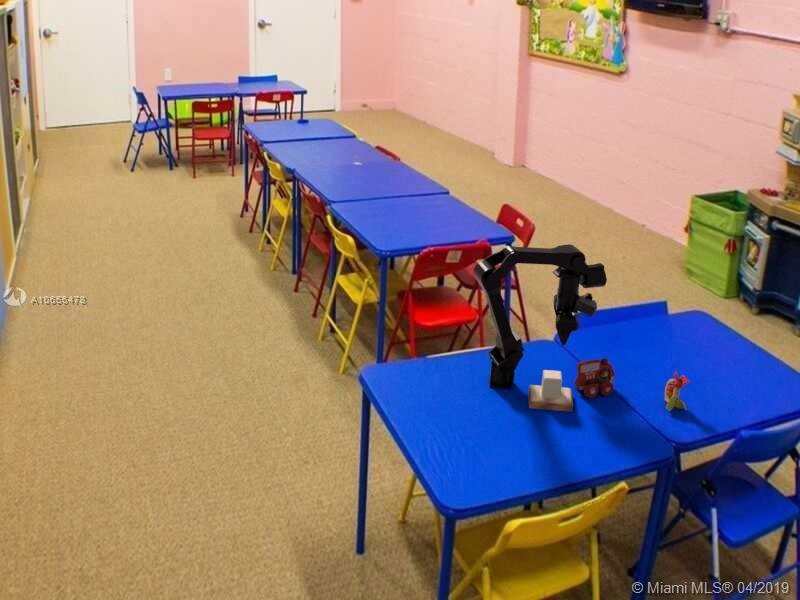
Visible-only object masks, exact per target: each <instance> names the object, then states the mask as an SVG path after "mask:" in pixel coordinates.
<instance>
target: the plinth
mask: <svg viewBox="0 0 800 600" xmlns="http://www.w3.org/2000/svg"><path fill="white" fill-rule="evenodd" d="M541 386H542V385H536V384H530V385H528V389H527V390H528V391H527V392H528V409H534V410H535V409H536V410H549V411H559V412H562V411H563V412H572V413H573V411H574V410H573V409H574V403H573V393H572V389H571V388H570V387H564V386H562V387H561V395H560V399H552V398H542V392H541Z"/></svg>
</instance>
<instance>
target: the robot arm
mask: <svg viewBox="0 0 800 600" xmlns="http://www.w3.org/2000/svg"><path fill="white" fill-rule="evenodd" d="M499 264H500V265H499ZM518 264H524V265H525V264H526V265H527V264H529V265H545V266H546V265H547V266H548V265H549V266H556V267H557V268H556V269H554V270H553V271H552V273H553V275H555V276H556V277H557V278H558V287H557V288H556V289H557V290H556V291H557V292H556V294H554V296H553V300H552V301H553V309H554V312H555V313H554V314H555V324H554V326H555V330H556V332H557V336H558V338H559V341H560V344H561V346H566V345H567V343H568V340H569V337H570V335H571V333H573V332H574V331H575V332H576V331H578V330H579V324H580V322H579V318H578V317H577V316H576V315H575V314H579V313H581V314H583V315H587V316H588V317H591V318H592V317H593V316H594V315H595V313H596V311H597V309H598V305H597V302H596V301H595V299H593V294H592V293H589V292H586V293H585V294H582V295H580V294H579V293H580V292H579V290H580V289H579V288H580V286H581V287H582V288H583V289H593V288H603V287H606V284H607V279H608V278H607V273H606V270H605V265H604V264H603V263H602V262H599V263H595V264H594V263H593V264H587V262H586V255H585V254H584V253H583V252H582V251H581V250H580V249H579V248H577V246H575V245H573V244H571V243H570V244H569V243H568V244H561V245H558V246H556V247H551V248H549V247H548V248H546V247H528V246H527V247H526V246H513V245H506V246H505V247H504V248H502V249H501V250H499V251H497V252H494V253H492V254H490V255H489V256H486V258H484V259H483V260H481V261H479V262H478V263H477V264H476V265H475V266H474V268H473V270H472V271H473V275H474V277H475V279H476V281H477V282H478V284H479V286H480V287H481V289H482V291H483V293H484V294H485V299H486V302H487V304H488V309H489V311H490V315H491V319H492V322H493V324H494V328H495V332H496V336H495V344H496V345H495V346H494V347H493V348H492V349H490V351H489V352H488V353H487V354H488V356H489V359H490V360H491V364H490V375H489V384H488V385H489V388H493V389H494V388H495V389H503V390H504V389H506V390H507V389H508V390H512V389H513V385H514V383H515V373H516V372H515V371H516V369H517V367H518V365H519V363H520V361H521V360H522V359H523V358H524V352H525V348H524V347H523V341H522V338H521V337H520V336H519V334H518V333H517V332H516V331H515V329H513V330H512V327H511V324H510V321H509V317H508V312H507V310H506V307H505V303H504V300H503V296H502V287H503V282H502V280H504V279H505V278H506V277H507V276H508V275H509V274H510V272H511V270H512V269H513V267H514V266H515V265H518ZM497 265H499V266H498V267H496V266H497Z"/></svg>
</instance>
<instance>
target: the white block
mask: <svg viewBox="0 0 800 600" xmlns="http://www.w3.org/2000/svg"><path fill="white" fill-rule="evenodd" d="M562 385H563V376H562V371H561V370H552V369H551V370H550V369H549V370H548V369H543V370H542V379H541V385H540V386H541V392H542V398H552V399H560V395H561V387H563V386H562Z"/></svg>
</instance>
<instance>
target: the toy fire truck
mask: <svg viewBox="0 0 800 600" xmlns="http://www.w3.org/2000/svg"><path fill="white" fill-rule="evenodd" d="M576 371H577V376H576V378H575V379H574V382H573V383H574V386H575V387H576V389H577V390H578V391H583V394H584V396H585V397H586V398H589V399H593V398H595V397H596V396H597V395H598V393H599V392H600V394H602V395H603V396H610V395H611V394H612V393H613V392H614V389H615V386H614V381H615V377H616V376H615V371H614V369H613V366H612V363H610V362H609V359H608V358H607V357H602V358H600V359H590V360H583V361H578V363H577V366H576Z"/></svg>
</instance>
